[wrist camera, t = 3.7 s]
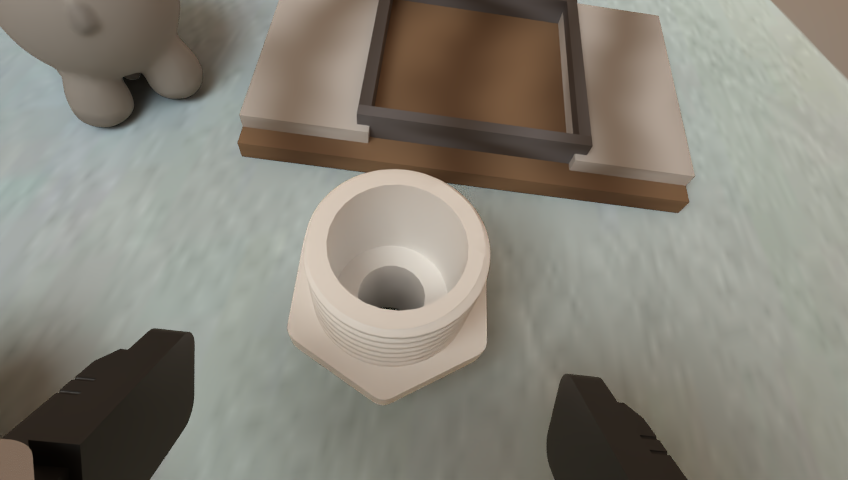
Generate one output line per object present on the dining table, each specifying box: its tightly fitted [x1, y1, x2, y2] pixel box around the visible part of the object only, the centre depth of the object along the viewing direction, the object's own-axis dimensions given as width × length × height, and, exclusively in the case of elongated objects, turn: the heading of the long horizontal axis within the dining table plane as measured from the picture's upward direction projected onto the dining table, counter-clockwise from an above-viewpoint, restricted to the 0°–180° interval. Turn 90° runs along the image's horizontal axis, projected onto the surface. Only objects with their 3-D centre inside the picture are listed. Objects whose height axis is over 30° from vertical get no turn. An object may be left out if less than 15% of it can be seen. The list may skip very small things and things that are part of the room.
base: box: [238, 0, 695, 213], centre depth 27 cm, size 22×14×2 cm, turn 85°
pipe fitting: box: [287, 169, 490, 405], centre depth 17 cm, size 6×7×8 cm
